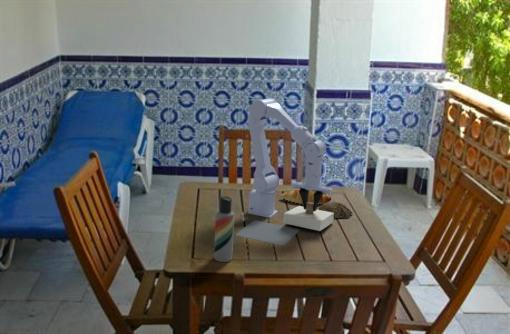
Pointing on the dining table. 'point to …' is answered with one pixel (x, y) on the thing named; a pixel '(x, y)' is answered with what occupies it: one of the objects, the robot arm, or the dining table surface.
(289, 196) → the croissant
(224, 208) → the lotion bottle
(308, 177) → the robot arm
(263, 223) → the mat
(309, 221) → the cover
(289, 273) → the dining table surface
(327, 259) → the dining table surface
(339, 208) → the bread roll
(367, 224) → the dining table surface
